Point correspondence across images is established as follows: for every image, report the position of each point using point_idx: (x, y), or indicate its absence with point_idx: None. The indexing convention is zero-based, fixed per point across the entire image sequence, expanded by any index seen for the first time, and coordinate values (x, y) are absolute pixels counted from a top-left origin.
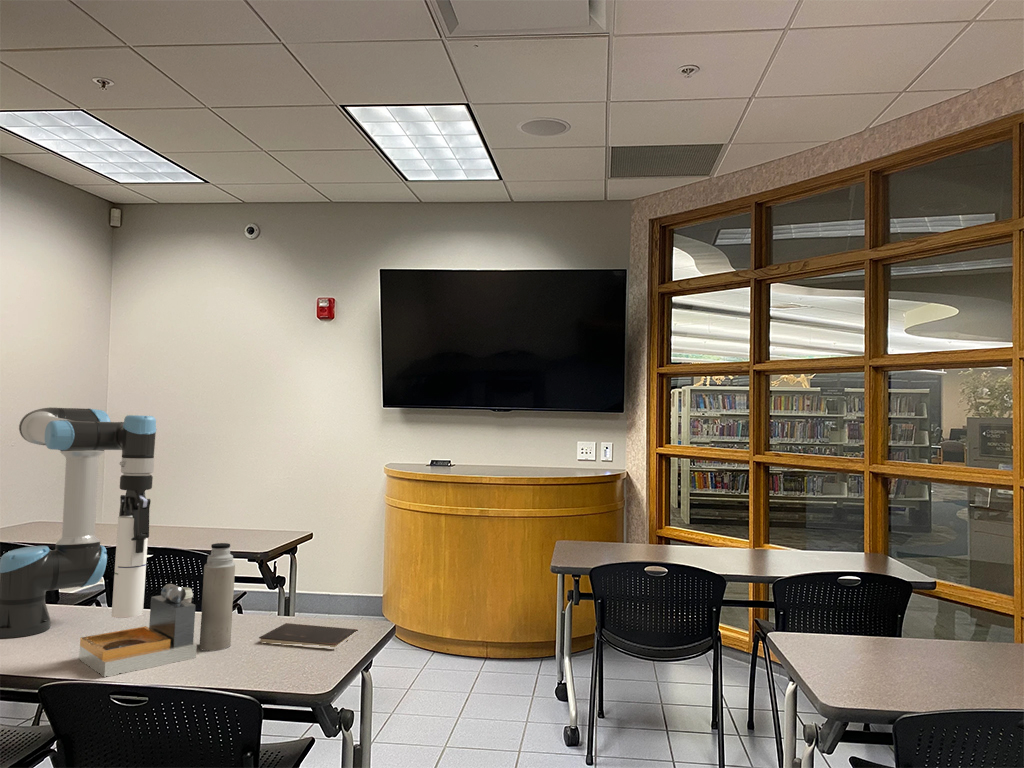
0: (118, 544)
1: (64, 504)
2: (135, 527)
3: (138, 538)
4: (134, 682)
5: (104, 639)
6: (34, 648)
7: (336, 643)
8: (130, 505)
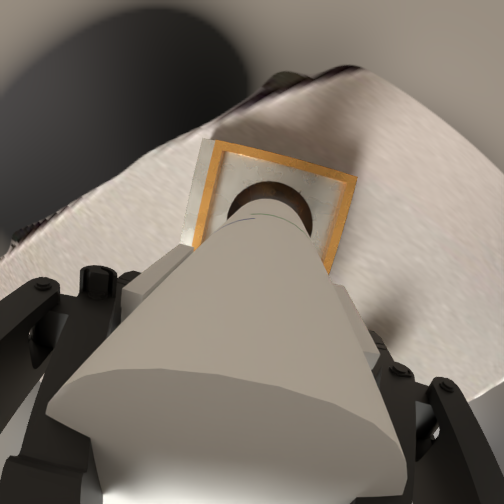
0: (253, 243)
1: None
2: (59, 339)
3: (46, 278)
4: (146, 159)
5: (334, 219)
6: (463, 180)
7: None
8: None
